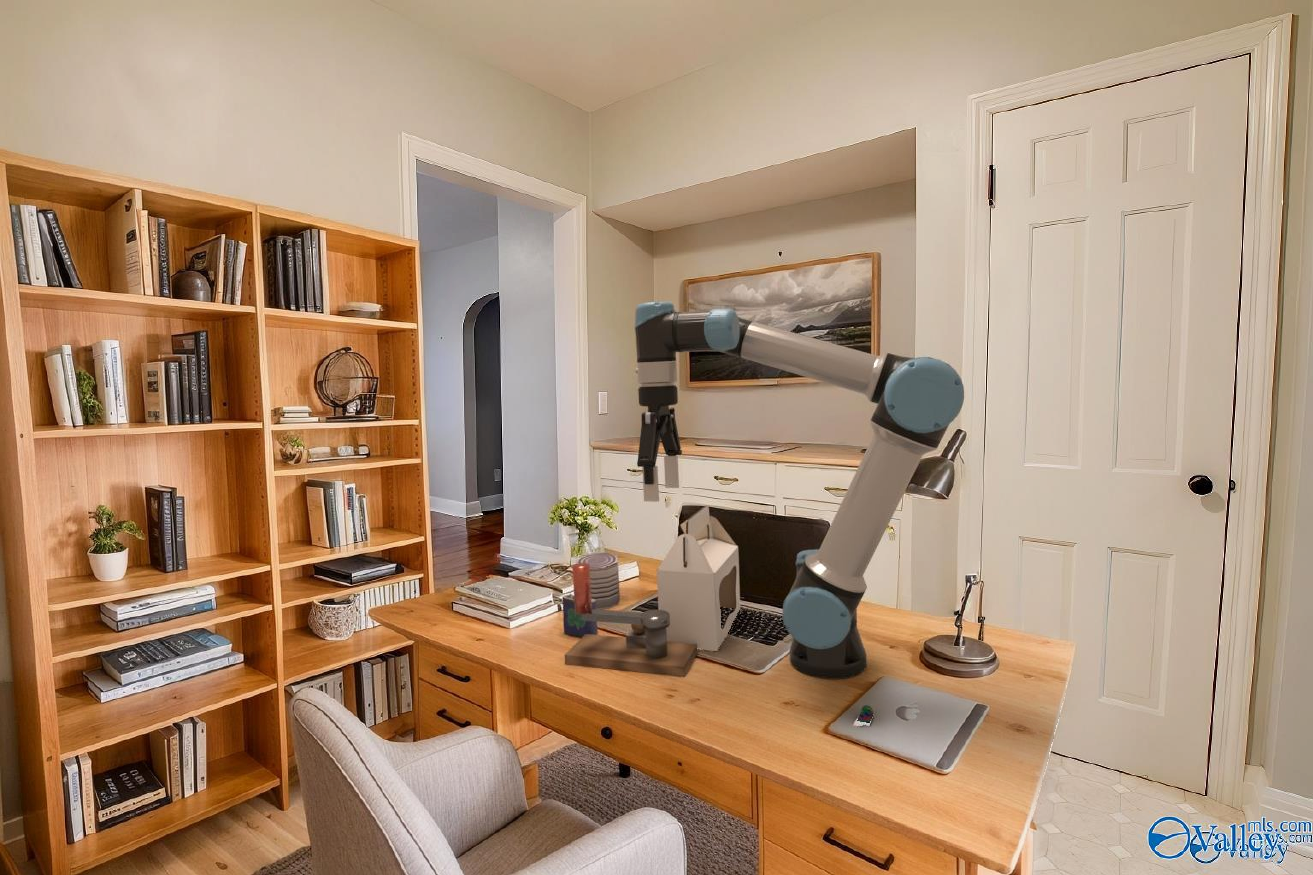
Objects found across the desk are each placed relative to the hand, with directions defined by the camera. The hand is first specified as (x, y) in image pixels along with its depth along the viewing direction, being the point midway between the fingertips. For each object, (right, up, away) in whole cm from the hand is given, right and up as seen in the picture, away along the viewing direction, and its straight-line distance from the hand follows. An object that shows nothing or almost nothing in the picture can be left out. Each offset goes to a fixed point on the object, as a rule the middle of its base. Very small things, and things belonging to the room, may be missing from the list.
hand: (662, 494), depth 128 cm
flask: (-19, -35, +25) cm, 47 cm away
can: (-16, -33, +46) cm, 59 cm away
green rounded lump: (+35, -38, -16) cm, 54 cm away
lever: (-8, -28, +10) cm, 31 cm away
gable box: (+10, -34, +25) cm, 44 cm away
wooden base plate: (-6, -36, +12) cm, 38 cm away
